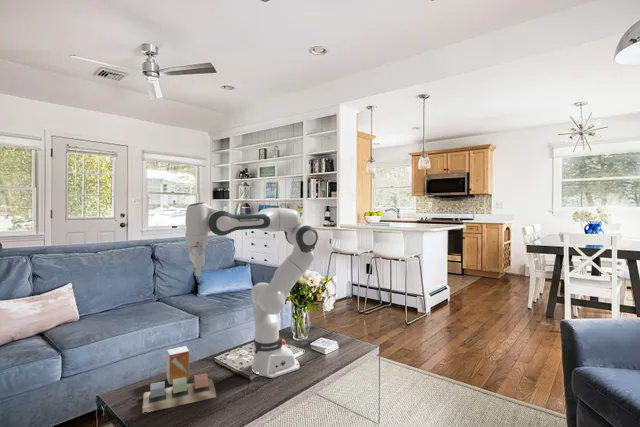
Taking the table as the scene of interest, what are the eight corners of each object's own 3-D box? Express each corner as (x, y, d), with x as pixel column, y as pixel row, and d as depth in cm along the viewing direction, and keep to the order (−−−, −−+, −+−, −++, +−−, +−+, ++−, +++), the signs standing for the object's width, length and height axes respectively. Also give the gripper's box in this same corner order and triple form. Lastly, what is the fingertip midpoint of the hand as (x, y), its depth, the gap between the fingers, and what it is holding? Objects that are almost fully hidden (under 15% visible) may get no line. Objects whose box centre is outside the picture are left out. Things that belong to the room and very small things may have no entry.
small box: (169, 385, 146) (169, 355, 145) (166, 378, 151) (166, 349, 151) (189, 380, 150) (189, 350, 150) (186, 373, 156) (186, 345, 155)
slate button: (164, 388, 137) (164, 381, 137) (164, 395, 132) (164, 387, 132) (150, 391, 135) (150, 383, 135) (150, 398, 130) (150, 390, 130)
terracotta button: (206, 380, 144) (206, 372, 144) (208, 385, 139) (208, 378, 139) (194, 382, 142) (194, 375, 141) (195, 388, 137) (195, 381, 137)
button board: (211, 383, 148) (212, 378, 148) (215, 397, 138) (215, 391, 138) (143, 397, 137) (143, 392, 136) (142, 413, 127) (142, 407, 127)
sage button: (186, 384, 140) (186, 376, 140) (187, 390, 136) (187, 382, 136) (172, 386, 138) (172, 379, 138) (173, 393, 134) (173, 385, 134)
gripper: (208, 243, 138) (208, 278, 138) (201, 238, 156) (200, 268, 157) (191, 244, 135) (191, 279, 135) (186, 238, 153) (186, 269, 154)
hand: (196, 273), depth 146 cm, fingers open, 8 cm apart
